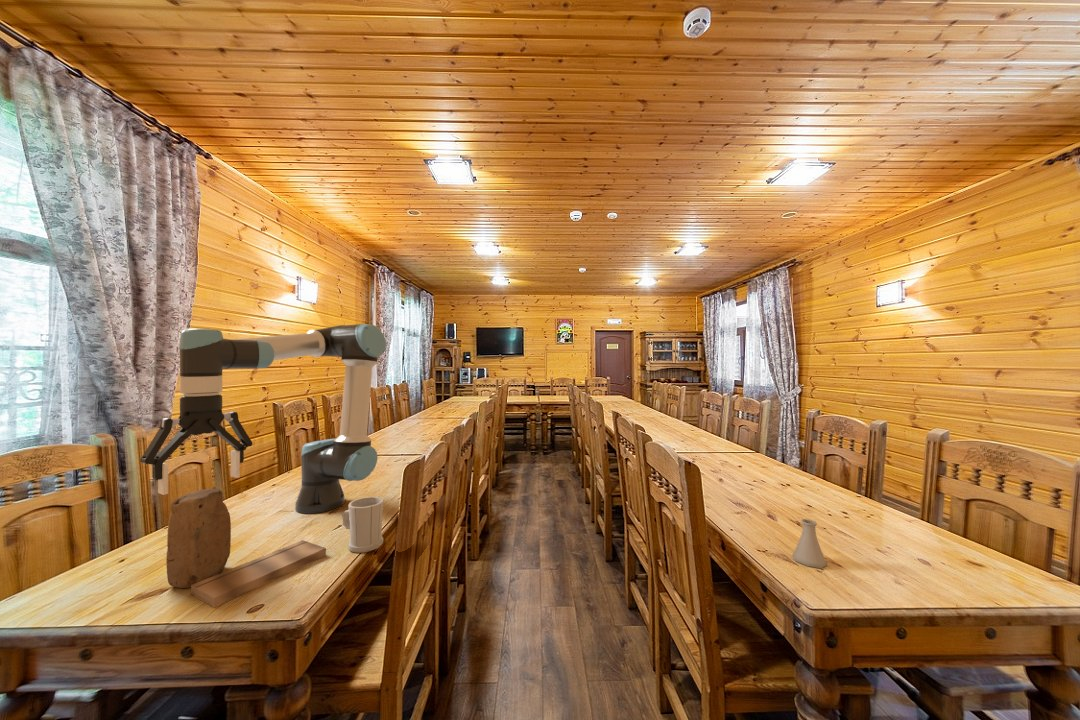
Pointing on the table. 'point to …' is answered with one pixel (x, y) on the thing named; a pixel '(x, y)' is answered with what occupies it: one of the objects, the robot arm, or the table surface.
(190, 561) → the brown pitted rock
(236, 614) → the table surface
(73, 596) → the table surface
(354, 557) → the table surface
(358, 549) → the cup
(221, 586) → the board
